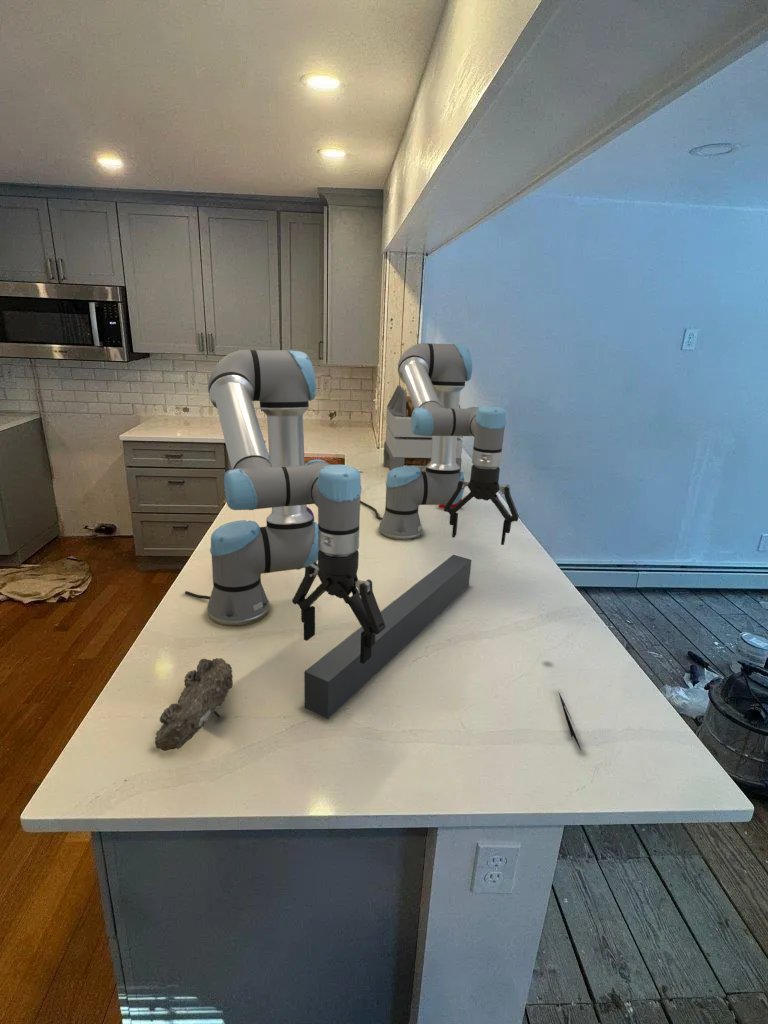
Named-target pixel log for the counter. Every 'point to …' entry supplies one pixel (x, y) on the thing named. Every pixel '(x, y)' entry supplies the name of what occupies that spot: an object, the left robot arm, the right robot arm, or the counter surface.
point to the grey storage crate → (407, 436)
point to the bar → (383, 638)
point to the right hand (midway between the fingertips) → (478, 539)
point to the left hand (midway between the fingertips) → (336, 648)
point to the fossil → (195, 703)
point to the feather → (569, 721)
